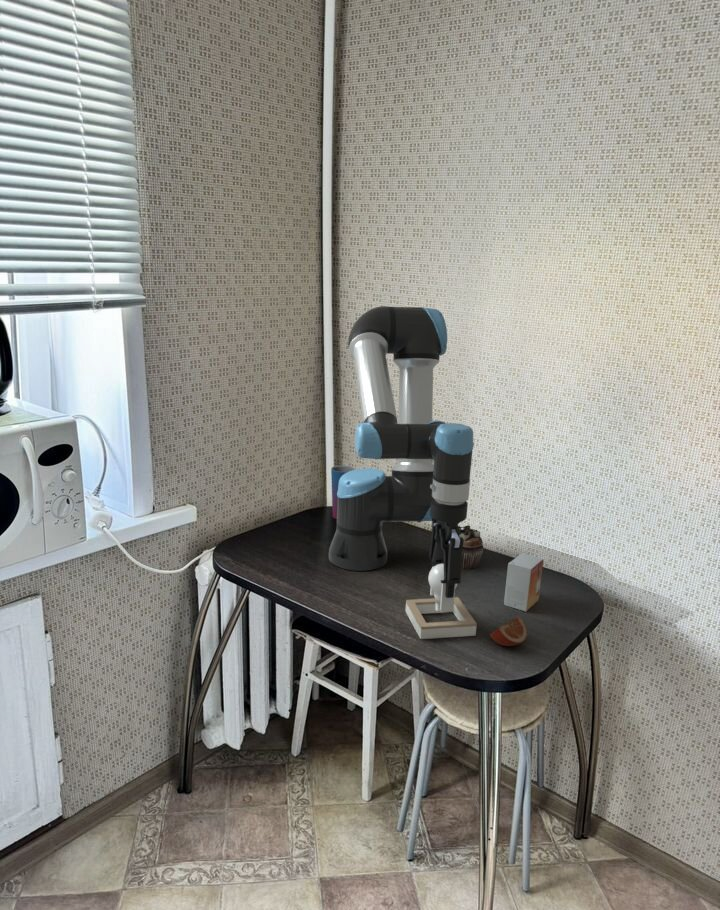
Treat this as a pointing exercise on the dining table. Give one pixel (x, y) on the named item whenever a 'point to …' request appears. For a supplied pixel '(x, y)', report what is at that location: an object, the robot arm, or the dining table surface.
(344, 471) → the cup
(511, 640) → the fruit slice
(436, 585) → the lightbulb
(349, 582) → the dining table surface
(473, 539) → the cupcake
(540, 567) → the small box
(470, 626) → the square frame
